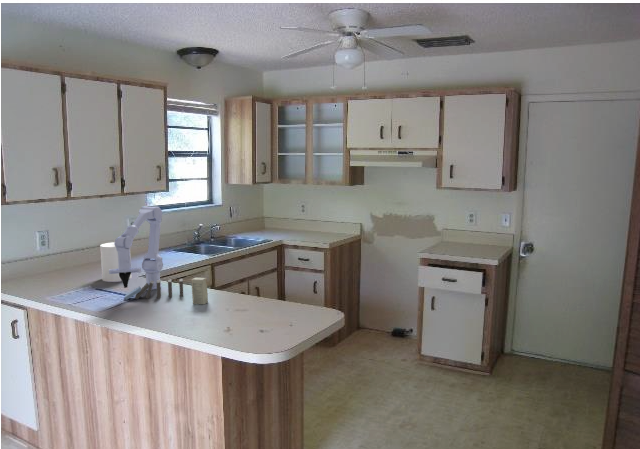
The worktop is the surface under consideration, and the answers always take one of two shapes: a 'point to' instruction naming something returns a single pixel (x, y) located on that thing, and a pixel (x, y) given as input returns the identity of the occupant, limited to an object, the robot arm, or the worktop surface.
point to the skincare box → (199, 290)
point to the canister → (109, 262)
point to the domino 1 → (132, 293)
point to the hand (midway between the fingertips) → (125, 287)
